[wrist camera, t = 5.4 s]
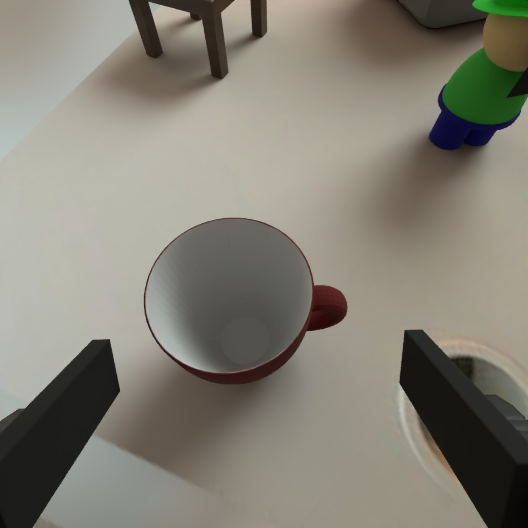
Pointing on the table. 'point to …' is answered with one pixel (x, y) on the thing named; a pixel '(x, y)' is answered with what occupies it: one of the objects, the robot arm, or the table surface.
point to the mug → (235, 300)
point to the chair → (209, 9)
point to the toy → (487, 80)
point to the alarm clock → (443, 12)
